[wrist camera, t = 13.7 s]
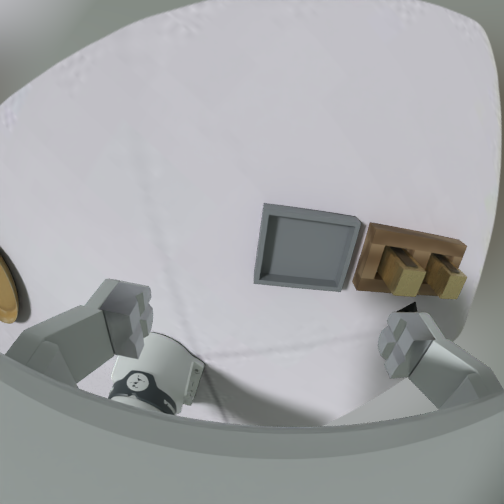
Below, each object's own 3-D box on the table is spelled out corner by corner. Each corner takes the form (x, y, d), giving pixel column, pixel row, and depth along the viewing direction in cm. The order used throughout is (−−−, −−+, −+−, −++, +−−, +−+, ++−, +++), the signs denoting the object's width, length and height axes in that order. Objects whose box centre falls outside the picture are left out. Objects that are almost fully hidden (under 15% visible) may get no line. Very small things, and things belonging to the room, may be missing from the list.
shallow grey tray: (336, 282, 42) (340, 291, 40) (253, 274, 42) (253, 283, 39) (355, 216, 37) (361, 222, 35) (263, 203, 37) (264, 208, 34)
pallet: (439, 288, 42) (445, 296, 40) (352, 281, 42) (356, 290, 40) (459, 239, 38) (466, 246, 36) (369, 222, 37) (376, 228, 35)
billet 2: (434, 273, 41) (456, 299, 34) (417, 271, 41) (440, 298, 34) (442, 252, 39) (467, 276, 32) (426, 249, 39) (451, 274, 32)
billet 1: (394, 268, 41) (415, 296, 34) (373, 266, 41) (393, 295, 33) (402, 245, 39) (426, 271, 32) (381, 242, 39) (404, 268, 32)
